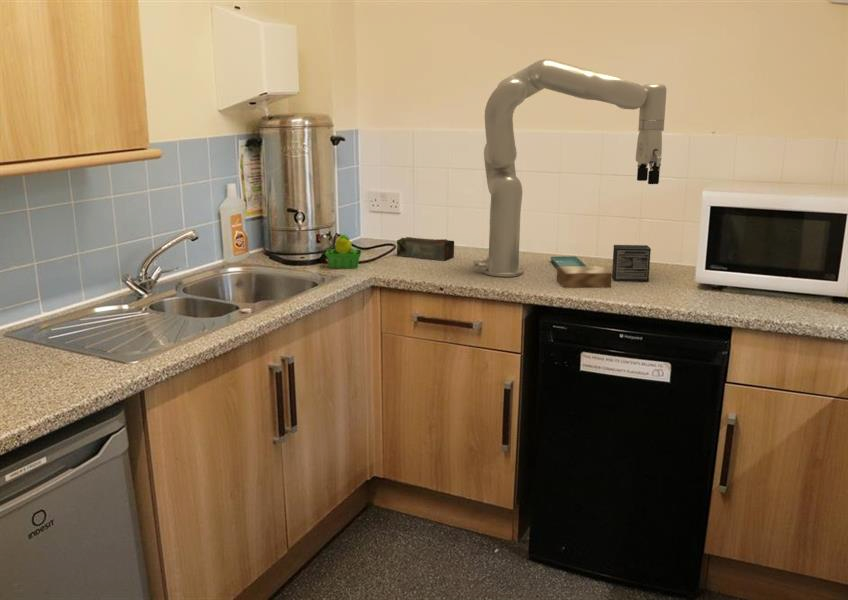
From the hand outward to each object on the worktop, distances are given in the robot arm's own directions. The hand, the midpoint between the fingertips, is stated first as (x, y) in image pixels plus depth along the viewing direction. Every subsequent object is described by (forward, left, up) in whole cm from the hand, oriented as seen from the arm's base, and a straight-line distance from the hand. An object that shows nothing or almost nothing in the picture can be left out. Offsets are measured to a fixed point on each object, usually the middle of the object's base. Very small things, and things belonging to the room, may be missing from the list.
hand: (647, 182), depth 246 cm
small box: (-6, -8, -29) cm, 31 cm away
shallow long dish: (-21, +7, -30) cm, 37 cm away
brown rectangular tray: (-22, -13, -29) cm, 39 cm away
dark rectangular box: (-67, +29, -30) cm, 79 cm away
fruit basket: (-95, +13, -29) cm, 100 cm away
